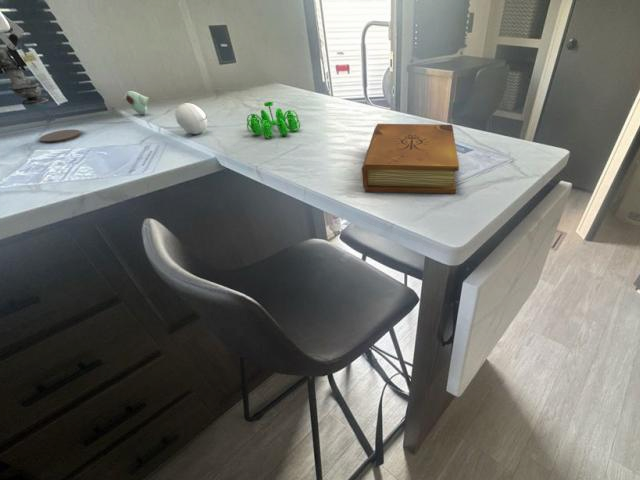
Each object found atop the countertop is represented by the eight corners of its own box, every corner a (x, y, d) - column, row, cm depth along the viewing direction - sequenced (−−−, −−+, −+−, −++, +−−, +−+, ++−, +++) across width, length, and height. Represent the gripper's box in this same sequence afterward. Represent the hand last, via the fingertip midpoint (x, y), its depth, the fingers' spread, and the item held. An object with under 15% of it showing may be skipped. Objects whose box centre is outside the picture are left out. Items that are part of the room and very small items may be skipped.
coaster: (34, 144, 83) (32, 142, 83) (51, 133, 89) (49, 130, 89) (72, 141, 85) (70, 139, 84) (87, 130, 91) (85, 128, 90)
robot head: (158, 114, 101) (146, 89, 96) (149, 117, 98) (136, 92, 93) (136, 112, 102) (123, 88, 97) (127, 116, 99) (113, 91, 94)
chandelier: (262, 144, 82) (252, 115, 77) (239, 130, 90) (230, 102, 85) (312, 131, 89) (306, 103, 84) (287, 119, 97) (281, 92, 92)
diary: (376, 148, 80) (374, 123, 76) (449, 149, 79) (452, 124, 75) (363, 191, 64) (361, 163, 60) (455, 193, 63) (459, 165, 59)
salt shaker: (14, 104, 79) (-33, 43, 71) (38, 98, 83) (-4, 39, 75) (32, 105, 78) (-14, 44, 70) (55, 99, 82) (14, 40, 74)
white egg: (203, 138, 86) (190, 107, 80) (178, 137, 86) (163, 107, 81) (221, 126, 93) (210, 97, 87) (198, 125, 93) (185, 96, 88)
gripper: (-14, -39, 69) (53, 64, 82) (-129, -40, 61) (-34, 74, 74) (-14, -40, 65) (57, 68, 78) (-136, -42, 57) (-34, 79, 70)
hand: (12, 70), depth 76 cm, fingers closed on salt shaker, 3 cm apart
